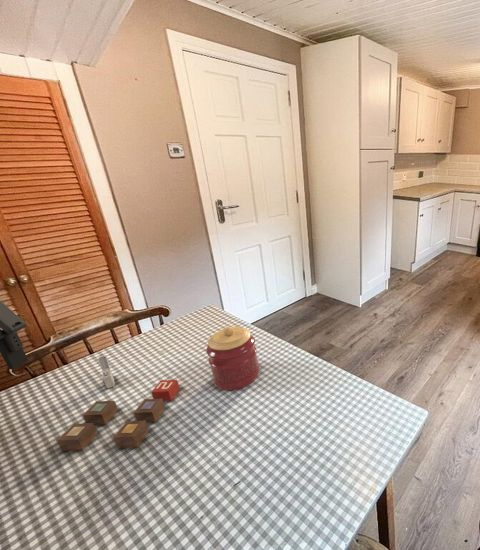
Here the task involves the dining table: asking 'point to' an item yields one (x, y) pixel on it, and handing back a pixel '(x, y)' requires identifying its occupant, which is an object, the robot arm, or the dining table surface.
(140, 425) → the right word block
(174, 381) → the red letter cube
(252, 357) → the kitchen canister
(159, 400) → the right word block
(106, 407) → the left word block
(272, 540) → the dining table surface
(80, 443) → the word block
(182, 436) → the dining table surface
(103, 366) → the lighter
